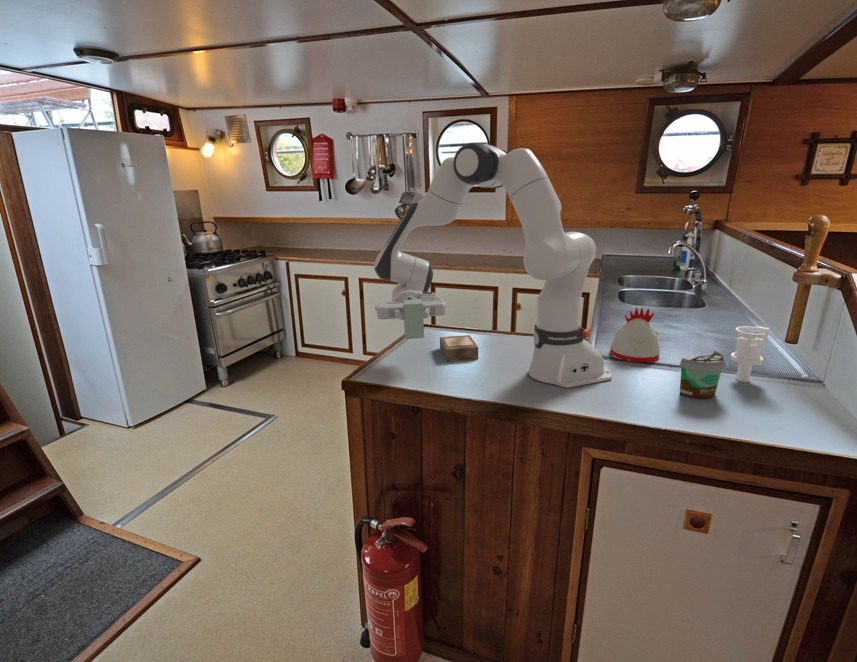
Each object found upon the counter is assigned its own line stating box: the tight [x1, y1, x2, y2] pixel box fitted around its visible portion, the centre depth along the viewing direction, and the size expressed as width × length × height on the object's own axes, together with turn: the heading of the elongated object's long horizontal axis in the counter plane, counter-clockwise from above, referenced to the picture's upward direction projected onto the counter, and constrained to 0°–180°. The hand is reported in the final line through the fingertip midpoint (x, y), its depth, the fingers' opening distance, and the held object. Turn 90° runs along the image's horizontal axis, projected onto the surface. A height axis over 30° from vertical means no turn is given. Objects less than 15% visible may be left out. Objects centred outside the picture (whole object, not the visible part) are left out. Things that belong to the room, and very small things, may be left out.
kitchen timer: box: [610, 307, 661, 363], centre depth 145 cm, size 14×14×15 cm
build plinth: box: [439, 334, 479, 362], centre depth 152 cm, size 10×12×4 cm
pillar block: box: [403, 299, 425, 340], centre depth 135 cm, size 5×5×10 cm
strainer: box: [730, 325, 770, 383], centre depth 125 cm, size 7×7×15 cm
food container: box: [679, 350, 727, 400], centre depth 118 cm, size 12×6×10 cm, turn 114°
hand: (413, 316), depth 133 cm, fingers closed on pillar block, 5 cm apart
